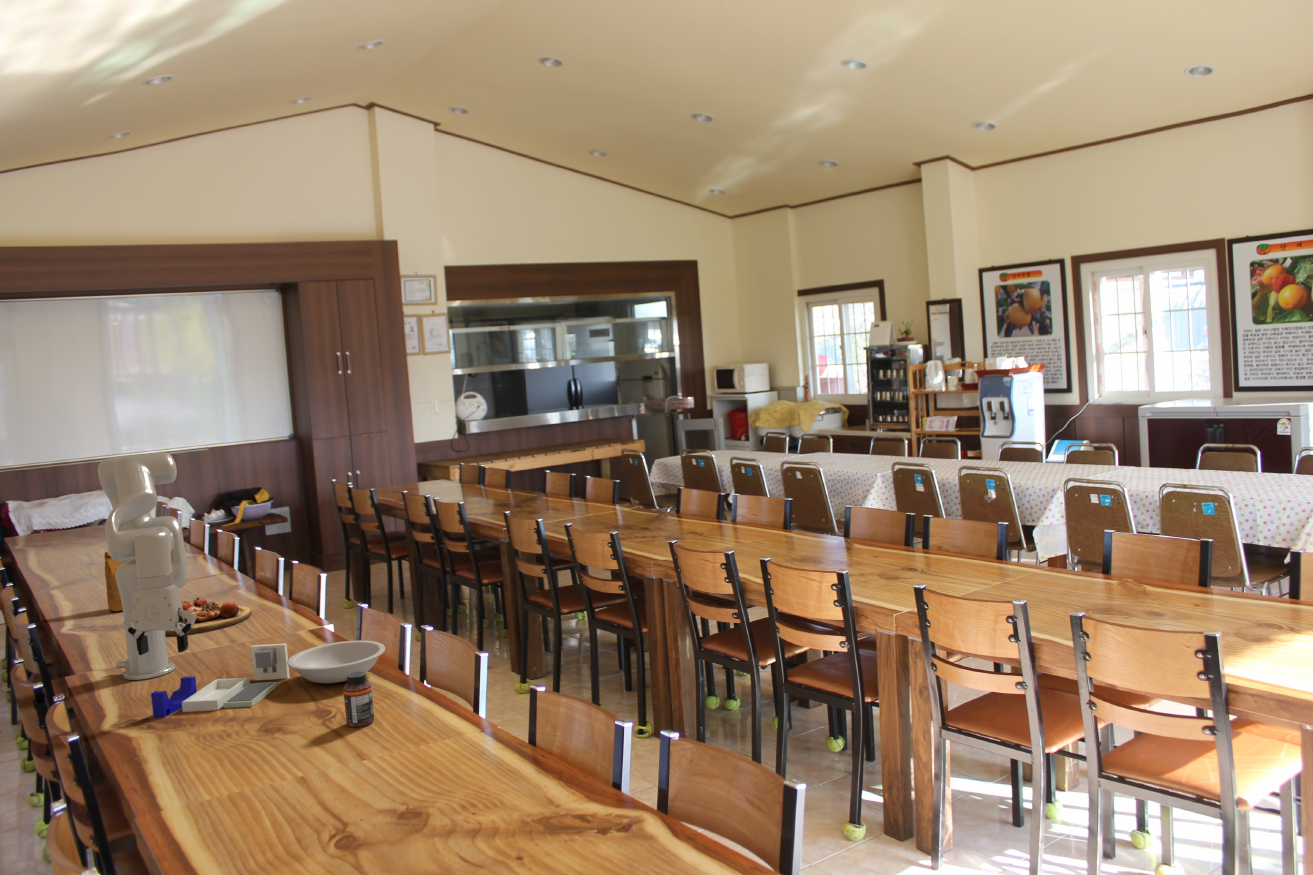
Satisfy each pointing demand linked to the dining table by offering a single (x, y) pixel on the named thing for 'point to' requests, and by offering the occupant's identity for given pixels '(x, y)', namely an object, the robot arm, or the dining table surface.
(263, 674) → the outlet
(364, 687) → the supplement bottle
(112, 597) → the coffee package
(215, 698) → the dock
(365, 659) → the soup bowl
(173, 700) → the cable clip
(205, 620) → the wooden plate with food
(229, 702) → the phone
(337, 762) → the dining table surface
